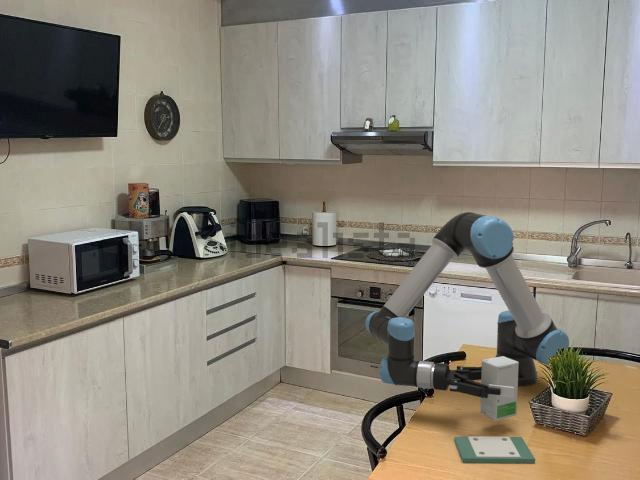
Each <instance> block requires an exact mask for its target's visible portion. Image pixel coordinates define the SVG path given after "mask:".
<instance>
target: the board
mask: <svg viewBox="0 0 640 480" xmlns="http://www.w3.org/2000/svg"><path fill="white" fill-rule="evenodd" d="M453 442H454V443H455V446H456V449H457V452H458V455H459V457H460V460H461V463H462V464H536V458H535V456H534V454H533V453H532V451H531V449H530V448H529V446H528V445H527V443H526V441H525V439H524V438H523V437H522V436H483V435H482V436H474V435H473V436H472V435H471V436H470V435H469V436H454V439H453Z"/></svg>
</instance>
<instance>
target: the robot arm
mask: <svg viewBox="0 0 640 480" xmlns="http://www.w3.org/2000/svg"><path fill="white" fill-rule="evenodd" d="M431 240H432V241H431V242H432V244H431V245H430V247H429V248H428V249H427V250H426V252H425V253H424V254H423V255H422V257H421V258H420V259H419V261H418V262H417V263H416V264H415V266H414V267H412V270H411V271H410V272H409V273H408V274H407V276H406V277H405V278H404V280H403V281H402V282H401V283H400V284H399V286H398V287H397V288H396V290H394V292H393V293H392V294H391V296H390V298H389V299H388V300H387V301H386V302H385V304H384V305H383V306H382V307H381V308H380V310H379V311H378V310H377V311H376V310H375V311H372V312H371V313H369V314H368V315H367V317H366V319H365V323H364V324H365V329H366V331H367V332H368V333H369V334H370V335H371V336H372V337H374V338H376V339H377V340H379V341H380V342H381V343H383V344H385V345H386V346H387V357H383V358H382V359H381V361H380V365H379V367H380V368H379V378H380V380H381V382H382V383H383V384H384V383H385V384H389V385H394V386H403V387H413V388H422V390H426V389H430V390H431V389H433V390H437V391H444V392H446V391H447V390H448V389H449V392H455V393H460V394H465V395H469V396H474V397H478V398H480V399H481V398H488V394H489V395H496V396H504V397H512V398H514V387H510V386H501V385H492V384H489V387H488V386H487V385H484V384H481V382H478V381H481V375H482V366H464V365H463V366H462V365H456V369H450V365H449V363H443V362H436V363H435V362H434V361H427V360H425V361H424V360H415V335H416V333H415V325H414V324H415V323H414V320H412V319H410V318H407V316H408V315H409V313H411V311H412V310H413V309H414V307H415V306H416V305H417V304H418V303H419V301H420V300H422V298H423V296H424V295H425V293H427V291H428V290H429V289H430V288H431V286H432V285H433V284H434V282H436V280H437V278H438V277H439V276H440V275H441V273H442V272H443V271H444V270H445V268H446V267H447V266H448V265H449V264H450V262H451V261H452V260H453V259H458V257H459V256H460V255H461V254H462V253H463V252H465V251H467V252H470V253H471V256H472V257H473V259H474V261H475V262H476V264H477V265H478V267H480V268H481V269H482V268H483V269H485V270H486V271H487V274H488V275H489V277H490V278H491V281H492V282H493V284H494V286H495V288H496V290H497V291H498V293H499V295H500V297H501V299H502V301H503V303H504V304H505V306H506V308H507V310H503V311H501V312H500V313H499V314H498V318H497V323H496V324H497V330H496V331H497V335H496V337H497V339H496V341H497V342H496V355H495V357H494V358H496V357H501V356H504V357H507V358H509V359H512V360H515V361H517V362H519V363H518V386H529V385H532V384H535V383H536V382H537V381H538V371H537V369H536V364H535V361H537V362H538V363H540V364H544V365H545V366H550V365H549V361H548V358H550V357H553V356H554V355H555V354H556V352H557V351H558V349H563V348H565V347H566V348H568V349H569V347H570V339H569V336H568V334H567V333H566V332H565V331H564V330H562V329H559V328H557V326H556V324H555V322H554V321H553V319H552V317H551V316H550V314H548V313H546V312H543V311H542V309H541V307H540V306H539V304H538V301H537V299H536V298H535V296H534V294H533V292H532V291H531V288H530V287H529V285H528V283H527V280H526V279H525V278H524V276H523V273H522V272H521V270H520V268H519V266H518V264H517V262H516V261H515V258H514V257H513V253H514V251H515V250H514V249H515V248H514V246H513V245H514V240H515V236H514V232H513V230H512V228H511V226H510V225H509V224H508V222H506V221H505V220H504V219H502V218H499V217H497V216H493V215H485V214H480V213H475V212H473V211H472V212H470V211H469V212H468V211H465V212H462V213H458V214H456V215H455V216H453V217H452V218H451V219H450V220H449V221H447V222H446V223H445V224H444V225H443V226H442V227H441V228H440V230H438V231H437V233H436V234H435V235H434V236H433V238H432V239H431ZM534 360H535V361H534Z"/></svg>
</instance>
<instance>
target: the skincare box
mask: <svg viewBox="0 0 640 480" xmlns="http://www.w3.org/2000/svg"><path fill="white" fill-rule="evenodd" d="M495 357H496V356H495ZM495 357H490V358H486V359H482V360H481V367H482V375H481V380H480V383H481V384H484V385H487V386H488V387H489V384H492V385H501V386H510V387H514V398H512V397H504V396H496V395H489V394H488V398H481V397H480V411H479V412H480V414H481V415H483V416H485V417H487V418H489V419H490V420H493V421H494V422H495V421H501V420H504V419H507V418H512V417H516V416H517V412H518V386H519V385H518V363H519V362H517V361H515V360H512V359H509V358H507V357H504V356H501V357H496V358H495Z"/></svg>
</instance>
